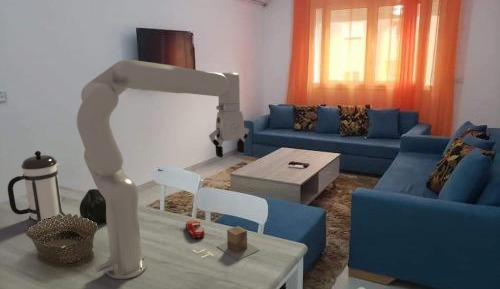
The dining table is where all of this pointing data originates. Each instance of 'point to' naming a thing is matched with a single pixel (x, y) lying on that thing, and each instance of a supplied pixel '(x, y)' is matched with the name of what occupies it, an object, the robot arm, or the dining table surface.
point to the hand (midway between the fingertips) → (230, 154)
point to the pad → (238, 255)
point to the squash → (93, 206)
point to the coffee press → (39, 188)
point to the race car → (195, 229)
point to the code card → (204, 255)
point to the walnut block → (237, 239)
